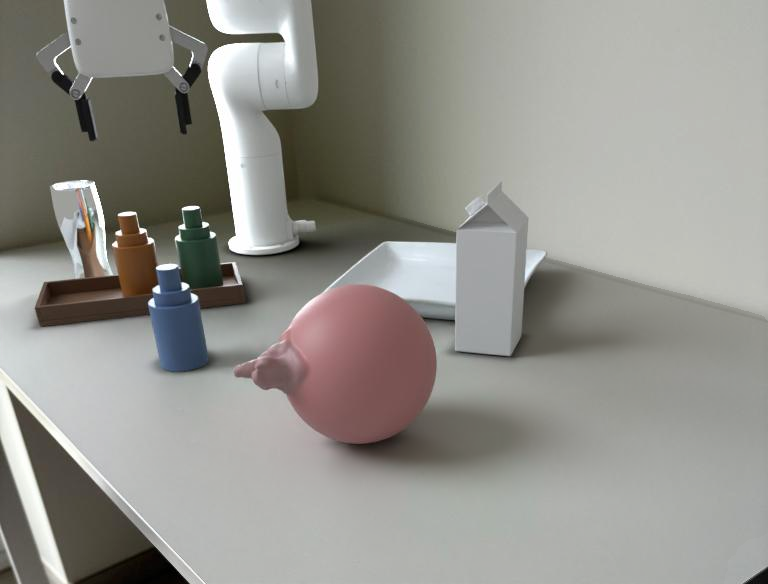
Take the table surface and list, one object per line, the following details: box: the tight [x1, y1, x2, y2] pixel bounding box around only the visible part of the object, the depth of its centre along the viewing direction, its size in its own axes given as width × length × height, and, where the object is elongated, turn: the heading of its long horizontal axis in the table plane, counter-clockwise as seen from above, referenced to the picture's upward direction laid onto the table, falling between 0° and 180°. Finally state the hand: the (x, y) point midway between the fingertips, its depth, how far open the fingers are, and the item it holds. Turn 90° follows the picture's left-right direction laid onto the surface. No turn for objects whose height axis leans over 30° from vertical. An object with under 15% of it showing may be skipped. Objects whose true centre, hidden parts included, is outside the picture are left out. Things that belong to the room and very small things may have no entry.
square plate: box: [322, 241, 548, 321], centre depth 118 cm, size 27×27×4 cm
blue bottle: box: [148, 263, 210, 373], centre depth 97 cm, size 6×6×12 cm
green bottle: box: [174, 205, 224, 289], centre depth 119 cm, size 6×6×12 cm
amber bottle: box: [111, 211, 160, 297], centre depth 117 cm, size 6×6×12 cm
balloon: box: [232, 284, 438, 445], centre depth 78 cm, size 15×20×15 cm
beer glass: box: [49, 179, 114, 279], centre depth 126 cm, size 7×7×15 cm
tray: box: [34, 261, 246, 327], centre depth 120 cm, size 29×12×3 cm, turn 104°
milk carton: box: [454, 180, 529, 357], centre depth 97 cm, size 7×7×19 cm
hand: (139, 136), depth 88 cm, fingers open, 9 cm apart
